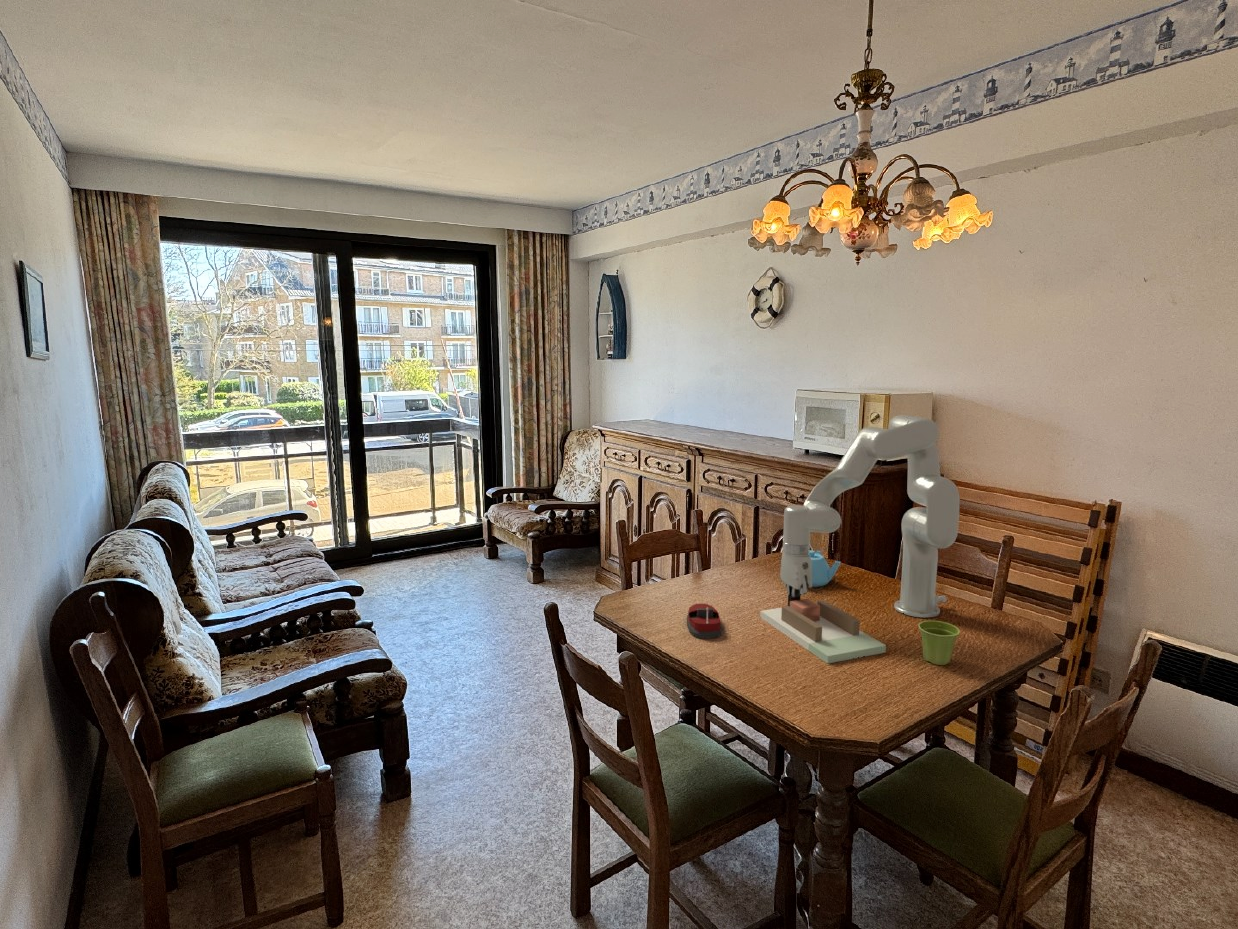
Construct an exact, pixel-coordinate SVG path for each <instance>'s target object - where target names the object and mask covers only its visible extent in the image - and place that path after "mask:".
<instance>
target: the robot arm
mask: <svg viewBox="0 0 1238 929" xmlns="http://www.w3.org/2000/svg"><path fill="white" fill-rule="evenodd" d="M887 427H888V428H886V429H885V428H881V427H875V426H867V427H863V428H862V429H860V430H859V431H858V433H856V436H854V438H853V440H852V441H851V444H850V445H849V447H847V448H848V449H847V450H846V451H845V453H844V455H843V456H842V457H841V459H840V461H839V462H838V464H837V466H836V467H835V468H834V469H833V470H832V471H830V472H829V473H828V474H827V475H826V476H824V477H823V478H822V479H821V480H819V482H817V483H816V485H815V486H814V487H813V488H812V490H811V492H810V493H809V494H808V496H807V498H806V499H805V501H804V503H803V505H800V504H799V505H798V504H797V505H795V504H792V505H788V506H786V507H785V508H784V511H783V533H782V534H783V536H782V553H781V559H780V560H781V561H780V571H779V572H780V580H781V581H782V583H783V585H784V586H785V587H786V594H787V606H789V607H790V601H795V600H801V597H802V595H807V594H808V589H812V588H813V587H812V564H811V557H810V555H809V551H810V549H811V548H810V547H811V533H813V532H814V533H820V534H830V533H833V532H836V531H837V530H838V529H839V528H840V526H841V523H842V517H841V515H840V513H839V512H838V511H837V510H836V509H835V508H833V507H831V504H833V502H834V500H835V499H836V498H838V496H839V495H840V494H841V493H844V492H846V491H847V490H850V489H853V488H856V487H859V486H861V485H862V484H863V483H864V482H865V480H866V478H867V477H868V475H869V474H870V472H871V471H872V469H873V467H874V466H875V464H876V463H877V461H878V460H884V461H887V460H888V461H889V460H893V459H897V458H901V457H904V456H907V457H906V458H907V480H906V481H907V487H906V488H907V489H906V492H907V495H908V497H909V499H910V500H911V501H912V502H914V503H916V504H918V505H921V506H916V507H912V508H910V509H908V510H907V511H906V512H905V513H904V514H903V517H902V519H901V524H900V526H901V536H902V542H903V543H902V546H903V547H902V550H903V551H902V564H901V567H902V568H901V578H900V579H901V580H900V581H901V582H900V598H899V600H896V601H895V602H894V604H893V605H894V606H893V607H894V609H895V610H896V611H897V612H899V613H901V614H903V613H904V615H906V616H908V617H909V616H910V617H915V618H923V619H925V618H927V619H928V618H934V617H938V616H939V615H940V614H941V609H940V607H939V604H940V603H946V602H947V601H948V598H947V596H946V595H945V594H944V595H937V594H936V588H937V587H936V586H937V585H936V584H937V576H938V574H937V573H938V562H939V560H938V559H939V552H938V549H946V548H949V547H950V546H952V545H953V544H954V542H955V541H956V539H957V537H958V534H959V524H960V522H959V521H960V502H961V501H960V491H959V489H958V487H957V485H956V484H955V483H954V481H952V479H951V480H950V479H949V478H947V477H944V476H941V469H940V468H941V462H940V451H939V448H938V445H937V443H936V442H937V441H938V438H939V437H940V435H939V433H940V429H939V426H938V424H937V423H936V422H935V421H934V420H932V419H930V418H927V417H923V416H922V417H921V416H915V415H910V414H909V415H908V414H898V415H896V416H893V417H892V418H891V419H890V421H889V423H888V426H887ZM923 506H924V507H923Z"/></svg>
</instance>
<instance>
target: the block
mask: <svg viewBox="0 0 1238 929" xmlns="http://www.w3.org/2000/svg"><path fill="white" fill-rule="evenodd" d="M790 607H791V608H792V609H794V610H796V611H797V612H799V613H801V614H802V615H804V616H805V617H807V618H809V619H810V620H812V621H814V622H815V621H820V605H818V604H817V603H816V602H814V601H813V600H810V598H803V599H801V598H800V600H795V601H790Z"/></svg>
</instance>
